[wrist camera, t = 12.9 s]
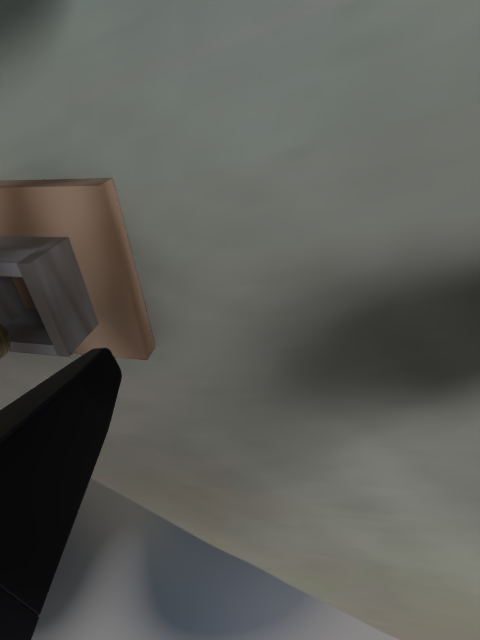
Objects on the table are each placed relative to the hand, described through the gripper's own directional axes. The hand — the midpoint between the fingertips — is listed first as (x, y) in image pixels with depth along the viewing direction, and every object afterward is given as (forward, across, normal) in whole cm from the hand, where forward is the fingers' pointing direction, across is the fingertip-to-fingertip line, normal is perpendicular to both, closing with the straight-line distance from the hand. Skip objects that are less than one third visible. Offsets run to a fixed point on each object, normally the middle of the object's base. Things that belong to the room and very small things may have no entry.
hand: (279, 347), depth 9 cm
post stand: (+14, +17, +3) cm, 22 cm away
